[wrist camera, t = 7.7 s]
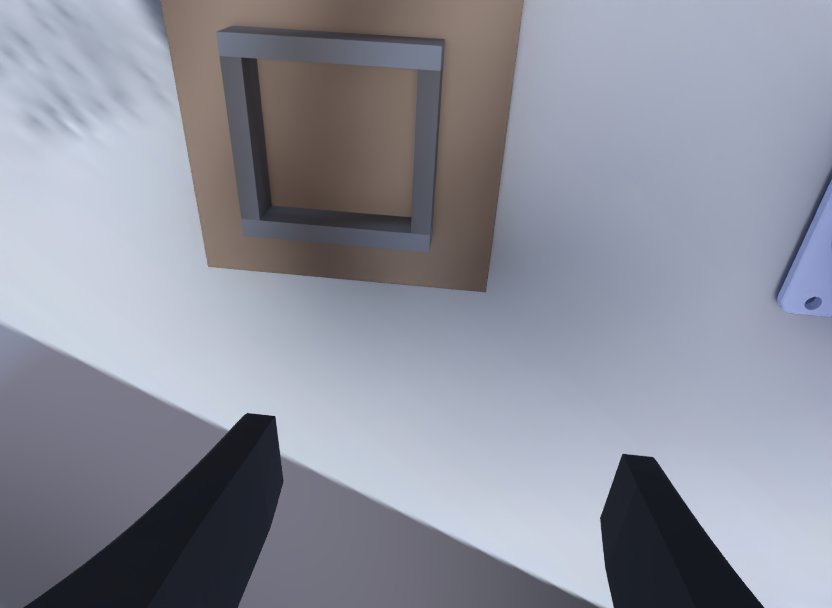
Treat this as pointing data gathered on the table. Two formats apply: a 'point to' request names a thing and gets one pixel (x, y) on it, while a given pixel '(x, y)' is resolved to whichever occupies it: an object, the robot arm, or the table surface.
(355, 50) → the socket plate
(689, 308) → the table surface
